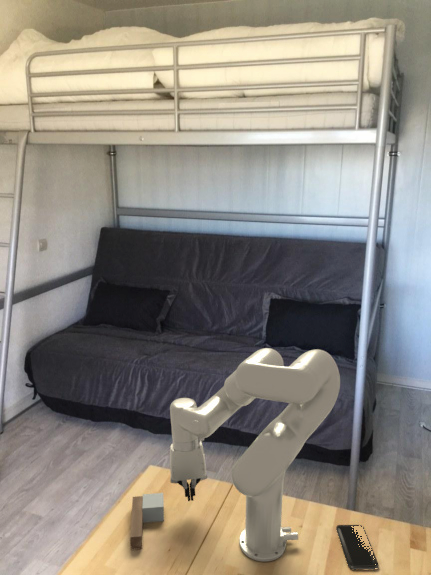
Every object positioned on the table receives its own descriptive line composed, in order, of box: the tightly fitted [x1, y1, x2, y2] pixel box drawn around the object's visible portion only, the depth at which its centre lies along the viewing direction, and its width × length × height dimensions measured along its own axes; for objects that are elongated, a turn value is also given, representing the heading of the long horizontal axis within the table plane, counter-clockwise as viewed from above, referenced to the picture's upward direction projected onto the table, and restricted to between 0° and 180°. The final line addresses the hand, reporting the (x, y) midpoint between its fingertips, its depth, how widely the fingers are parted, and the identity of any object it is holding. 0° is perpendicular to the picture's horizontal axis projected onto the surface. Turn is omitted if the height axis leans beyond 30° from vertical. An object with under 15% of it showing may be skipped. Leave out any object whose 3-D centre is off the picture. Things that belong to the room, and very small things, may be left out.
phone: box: [335, 524, 379, 571], centre depth 134 cm, size 8×1×15 cm
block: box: [142, 492, 165, 524], centre depth 145 cm, size 6×6×5 cm
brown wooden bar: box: [129, 495, 144, 550], centre depth 140 cm, size 3×16×4 cm, turn 7°
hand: (190, 497), depth 145 cm, fingers closed
